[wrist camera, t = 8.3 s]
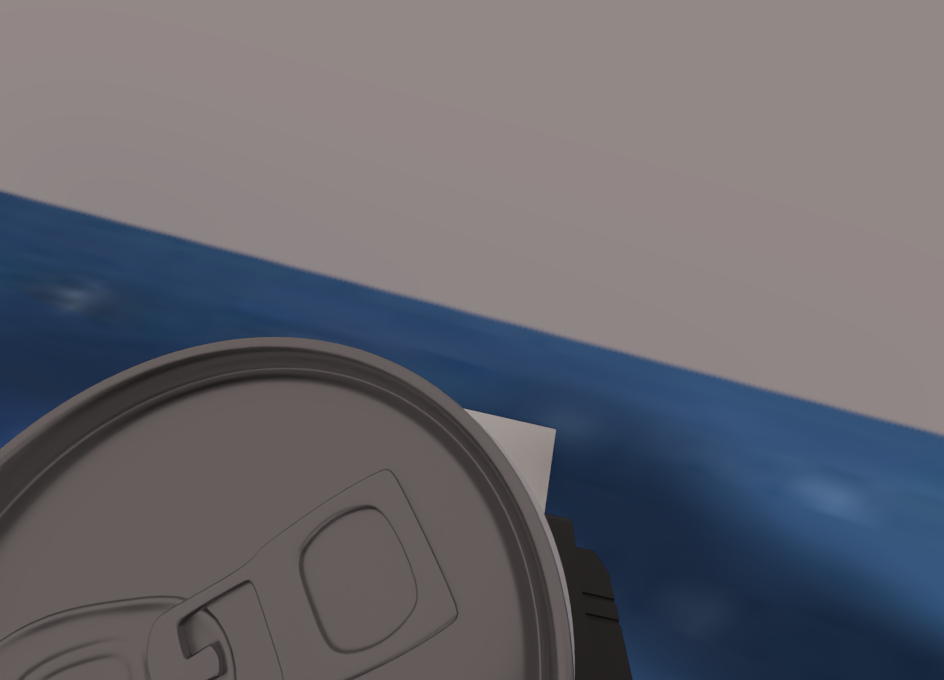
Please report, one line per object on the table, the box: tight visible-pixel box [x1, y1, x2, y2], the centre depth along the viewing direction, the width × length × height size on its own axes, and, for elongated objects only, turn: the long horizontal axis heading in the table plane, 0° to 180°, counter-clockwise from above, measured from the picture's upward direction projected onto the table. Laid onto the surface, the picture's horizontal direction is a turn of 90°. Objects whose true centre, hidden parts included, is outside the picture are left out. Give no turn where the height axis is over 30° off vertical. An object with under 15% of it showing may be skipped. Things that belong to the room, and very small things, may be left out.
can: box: [0, 337, 575, 680], centre depth 9 cm, size 6×6×12 cm
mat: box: [464, 409, 556, 513], centre depth 26 cm, size 13×10×1 cm
